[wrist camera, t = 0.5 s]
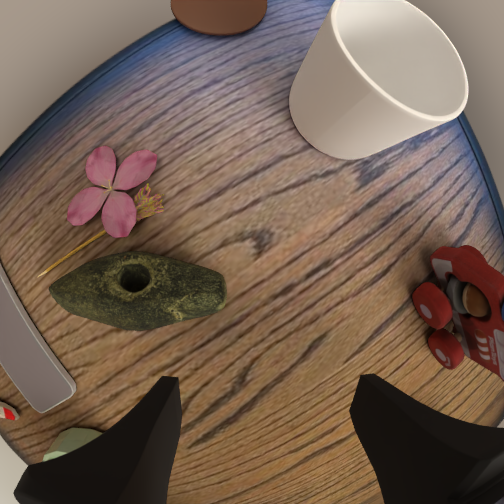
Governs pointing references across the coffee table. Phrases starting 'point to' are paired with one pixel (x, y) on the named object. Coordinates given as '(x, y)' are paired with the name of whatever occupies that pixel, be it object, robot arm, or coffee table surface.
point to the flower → (111, 190)
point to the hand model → (8, 412)
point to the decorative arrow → (140, 214)
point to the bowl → (70, 441)
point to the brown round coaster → (219, 15)
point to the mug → (375, 79)
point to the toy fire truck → (464, 309)
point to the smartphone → (29, 355)
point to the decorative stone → (140, 291)
